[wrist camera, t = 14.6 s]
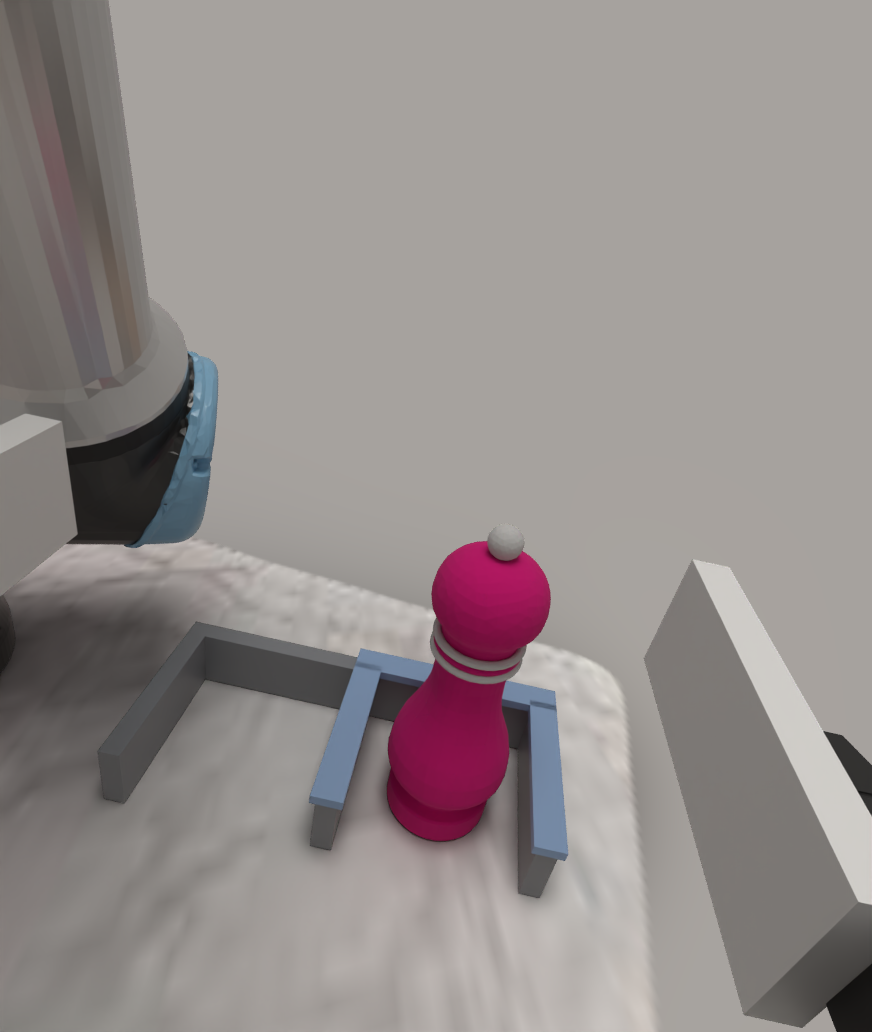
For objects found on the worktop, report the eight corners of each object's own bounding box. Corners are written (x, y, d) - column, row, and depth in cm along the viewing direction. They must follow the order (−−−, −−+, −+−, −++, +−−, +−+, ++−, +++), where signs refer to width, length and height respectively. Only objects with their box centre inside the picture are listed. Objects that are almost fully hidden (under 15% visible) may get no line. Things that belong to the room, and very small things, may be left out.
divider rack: (101, 801, 34) (94, 746, 31) (198, 661, 44) (198, 612, 42) (544, 902, 33) (568, 854, 31) (537, 736, 43) (554, 691, 41)
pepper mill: (373, 748, 40) (424, 485, 30) (476, 745, 42) (554, 496, 32) (385, 855, 34) (451, 567, 24) (504, 846, 36) (611, 574, 26)
